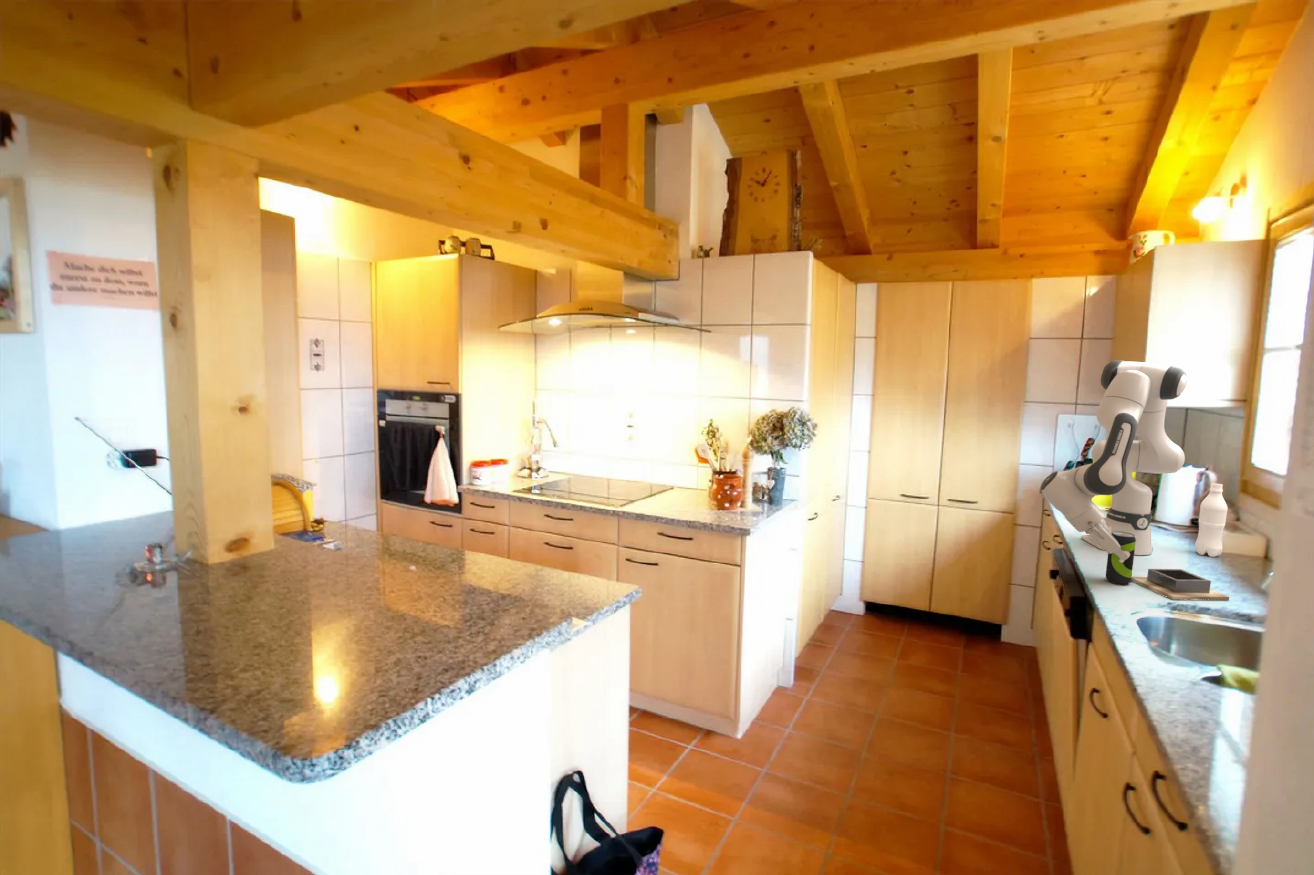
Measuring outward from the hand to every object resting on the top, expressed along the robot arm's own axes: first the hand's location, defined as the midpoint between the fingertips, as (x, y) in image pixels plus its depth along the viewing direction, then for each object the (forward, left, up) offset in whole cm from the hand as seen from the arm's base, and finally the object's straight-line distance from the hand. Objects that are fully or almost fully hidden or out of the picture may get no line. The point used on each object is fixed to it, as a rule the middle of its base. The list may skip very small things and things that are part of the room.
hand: (1123, 555), depth 188 cm
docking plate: (+6, +12, -8) cm, 16 cm away
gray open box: (+6, +12, -8) cm, 16 cm away
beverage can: (0, -1, -9) cm, 9 cm away
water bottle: (-28, +52, -9) cm, 60 cm away
